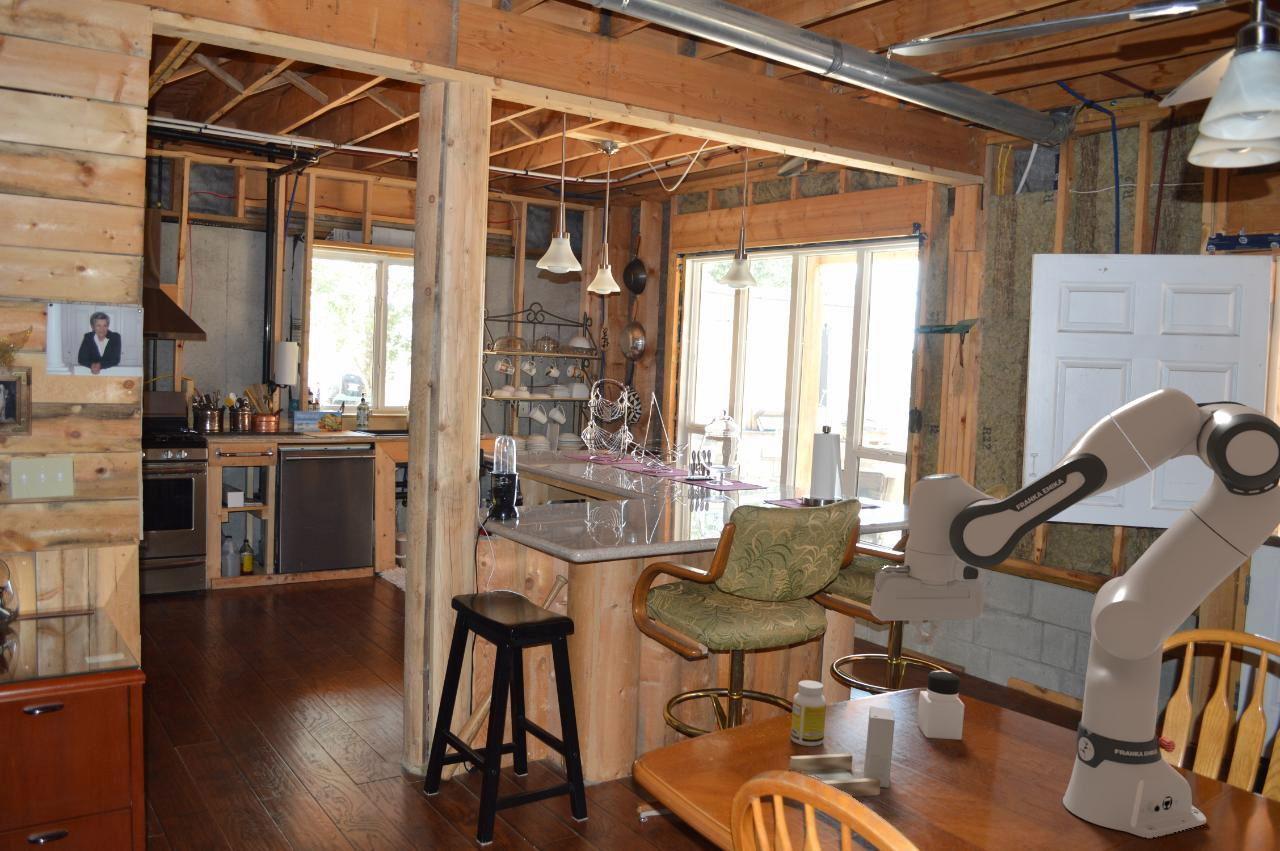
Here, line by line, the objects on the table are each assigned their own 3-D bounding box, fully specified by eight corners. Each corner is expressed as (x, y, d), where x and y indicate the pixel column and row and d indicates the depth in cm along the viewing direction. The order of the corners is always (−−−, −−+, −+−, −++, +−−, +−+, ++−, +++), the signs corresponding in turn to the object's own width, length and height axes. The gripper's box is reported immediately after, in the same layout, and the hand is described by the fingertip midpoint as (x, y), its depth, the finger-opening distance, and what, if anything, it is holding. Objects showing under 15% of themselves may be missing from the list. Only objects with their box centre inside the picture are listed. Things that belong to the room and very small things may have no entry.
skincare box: (889, 788, 175) (895, 720, 174) (864, 785, 176) (869, 717, 175) (888, 774, 181) (893, 708, 180) (863, 771, 182) (869, 705, 181)
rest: (848, 766, 183) (849, 753, 183) (879, 794, 172) (880, 780, 172) (789, 770, 180) (790, 756, 180) (816, 798, 169) (817, 784, 169)
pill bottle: (828, 740, 195) (832, 683, 195) (815, 750, 190) (820, 692, 189) (798, 731, 199) (802, 676, 198) (785, 741, 194) (789, 684, 193)
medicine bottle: (962, 740, 200) (967, 680, 199) (925, 738, 200) (931, 678, 199) (951, 726, 207) (957, 669, 206) (916, 724, 207) (921, 666, 206)
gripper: (885, 570, 171) (878, 650, 173) (991, 570, 177) (984, 648, 178) (867, 561, 178) (860, 639, 179) (971, 562, 183) (963, 637, 184)
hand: (923, 644), depth 178 cm, fingers closed
